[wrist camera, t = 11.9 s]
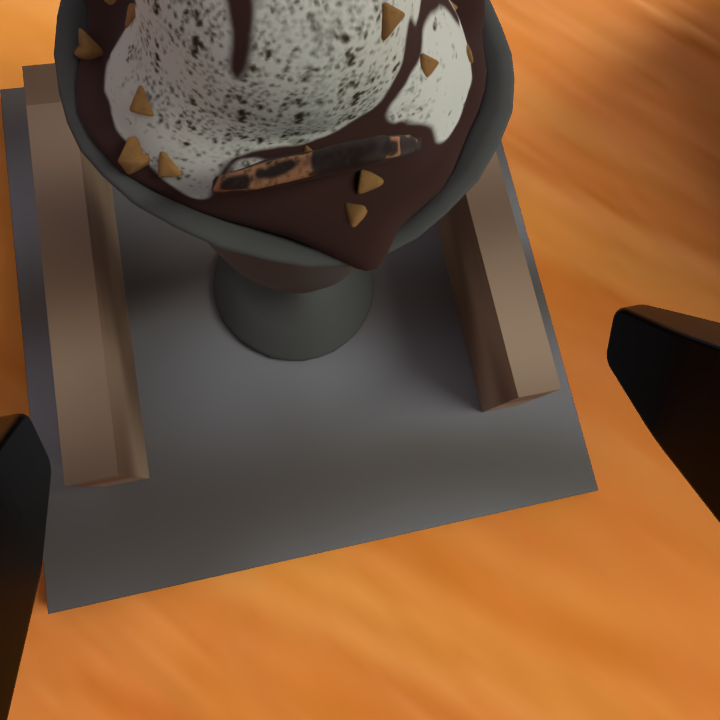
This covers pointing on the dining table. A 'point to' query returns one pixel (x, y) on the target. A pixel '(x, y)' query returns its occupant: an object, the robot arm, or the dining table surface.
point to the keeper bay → (267, 385)
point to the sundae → (288, 137)
